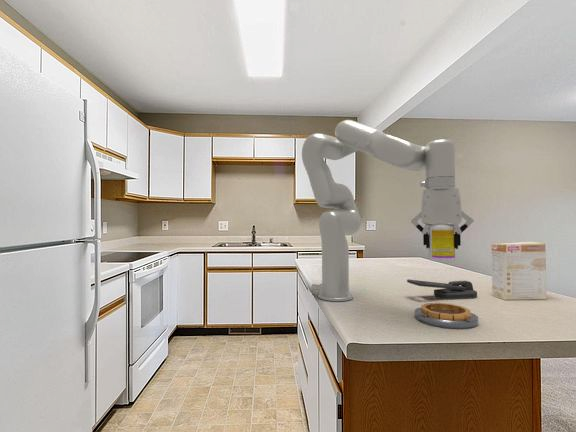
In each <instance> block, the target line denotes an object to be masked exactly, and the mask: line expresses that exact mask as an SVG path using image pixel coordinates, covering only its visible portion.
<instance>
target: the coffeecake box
mask: <svg viewBox="0 0 576 432" xmlns="http://www.w3.org/2000/svg"><path fill="white" fill-rule="evenodd" d="M546 266H547V265H546V243H545V242H544V243H543V242H536V241H525V242H524V241H520V242H519V241H518V242H517V241H516V242H514V241H511V242H507V241H506V242H491V284H492V285H491V292H492V297H495V298H499V299H501V300H504V301H510V300H511V301H515V300H517V301H521V300H526V301H527V300H547V271H546V270H547V269H546V268H547V267H546Z"/></svg>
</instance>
